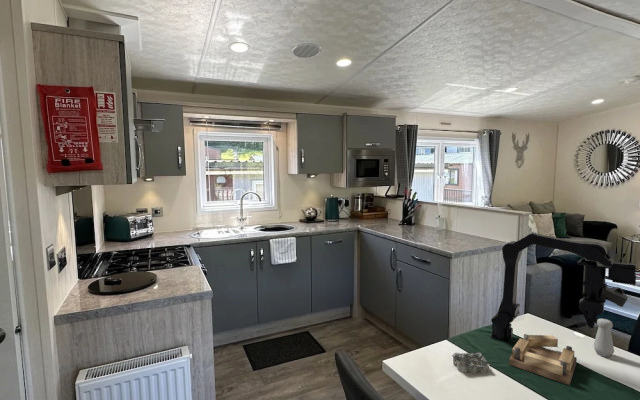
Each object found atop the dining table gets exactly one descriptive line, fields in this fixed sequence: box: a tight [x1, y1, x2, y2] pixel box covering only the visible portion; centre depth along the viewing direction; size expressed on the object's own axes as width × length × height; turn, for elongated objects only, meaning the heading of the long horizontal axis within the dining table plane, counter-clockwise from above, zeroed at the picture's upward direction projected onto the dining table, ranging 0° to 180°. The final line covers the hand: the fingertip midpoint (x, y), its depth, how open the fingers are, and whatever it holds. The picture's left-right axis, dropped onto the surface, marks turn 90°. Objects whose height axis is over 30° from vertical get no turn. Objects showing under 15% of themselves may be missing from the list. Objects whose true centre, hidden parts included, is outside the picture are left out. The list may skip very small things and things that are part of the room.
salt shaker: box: [593, 318, 615, 358], centre depth 120 cm, size 6×6×13 cm
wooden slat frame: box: [508, 338, 578, 386], centre depth 115 cm, size 17×17×6 cm
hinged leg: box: [523, 333, 559, 348], centre depth 123 cm, size 11×3×4 cm, turn 86°
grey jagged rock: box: [451, 352, 491, 374], centre depth 113 cm, size 11×8×4 cm
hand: (592, 323), depth 113 cm, fingers open, 9 cm apart
